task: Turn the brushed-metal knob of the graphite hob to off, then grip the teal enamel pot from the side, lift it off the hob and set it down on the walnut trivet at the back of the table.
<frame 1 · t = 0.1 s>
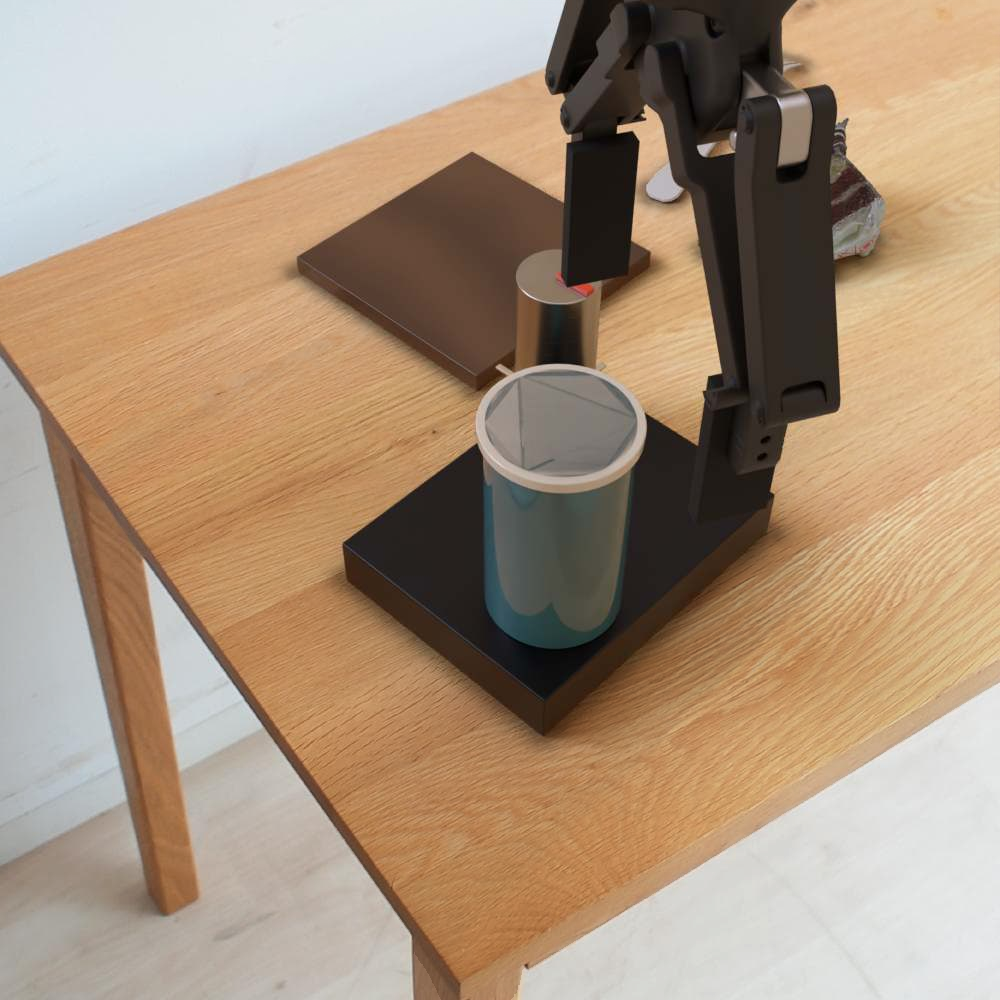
hand: (655, 384, 56), 21 cm above the table, tool pointing down, fingers open, 13 cm apart
trivet: (474, 269, 93), on the table
chocolate cake: (798, 252, 94), on the table
fork: (727, 129, 104), on the table
hob: (560, 555, 77), on the table
pot: (553, 593, 71), point 3 cm above the table, touching hob
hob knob: (556, 339, 77), point 8 cm above the table, hinge at -90.0°
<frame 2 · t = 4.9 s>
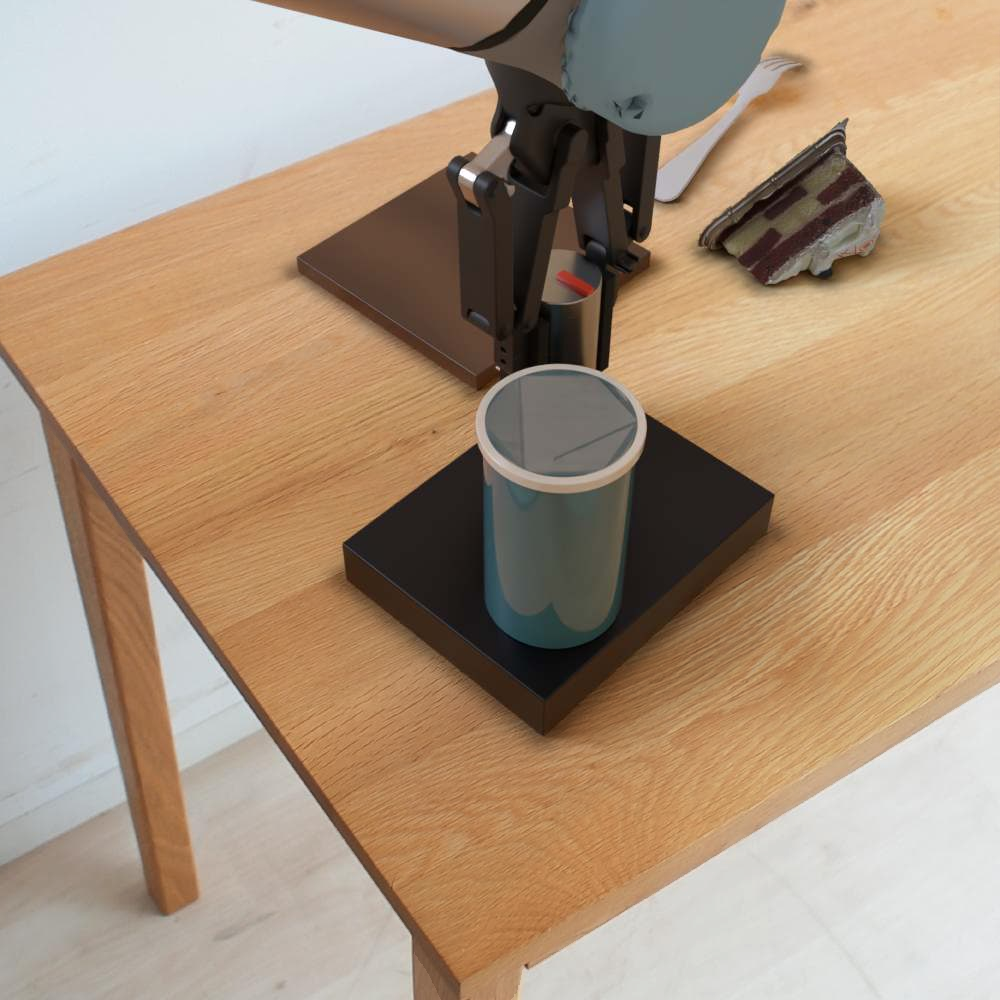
hand: (554, 381, 79), 5 cm above the table, tool pointing down, fingers closed on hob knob, 4 cm apart
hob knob: (556, 339, 77), point 8 cm above the table, hinge at -90.0°, touching gripper
everything else where it was.
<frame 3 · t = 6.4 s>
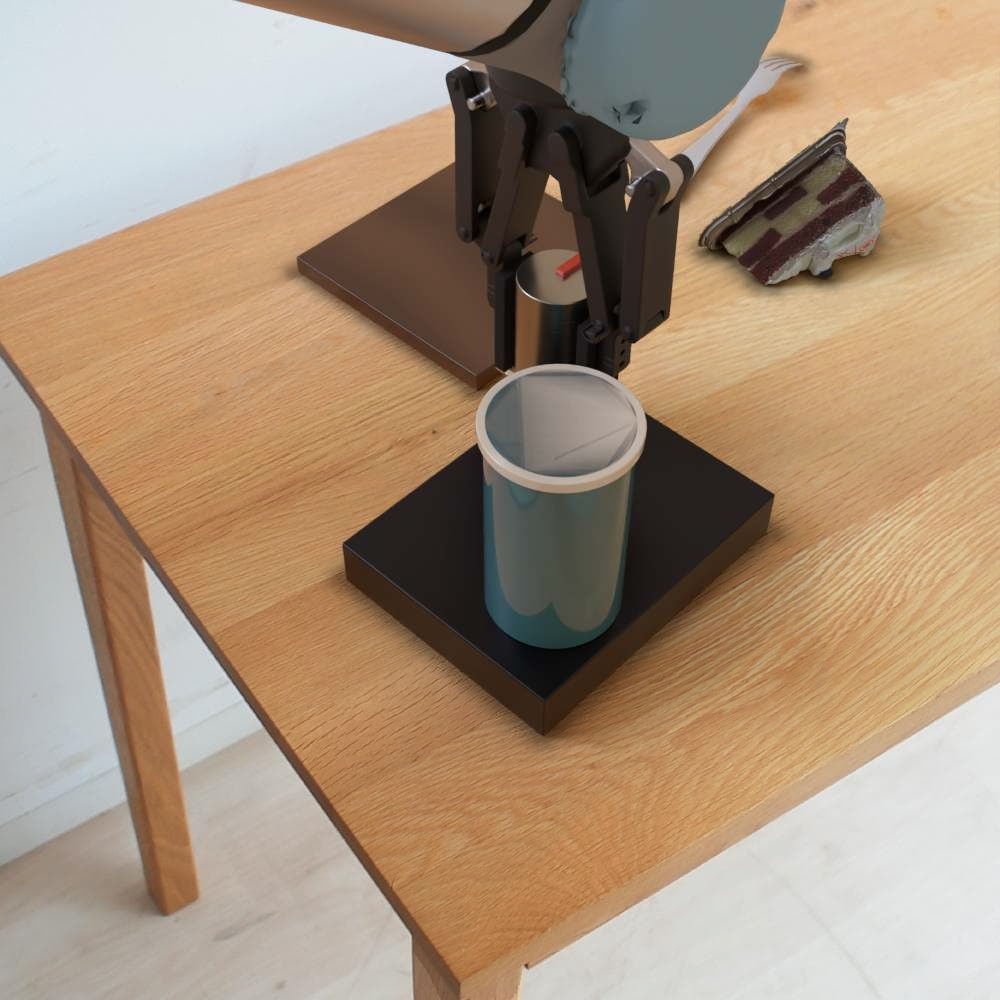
hand: (554, 382, 79), 5 cm above the table, tool pointing down, fingers open, 5 cm apart
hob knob: (556, 339, 77), point 8 cm above the table, hinge at -0.1°
everything else where it was.
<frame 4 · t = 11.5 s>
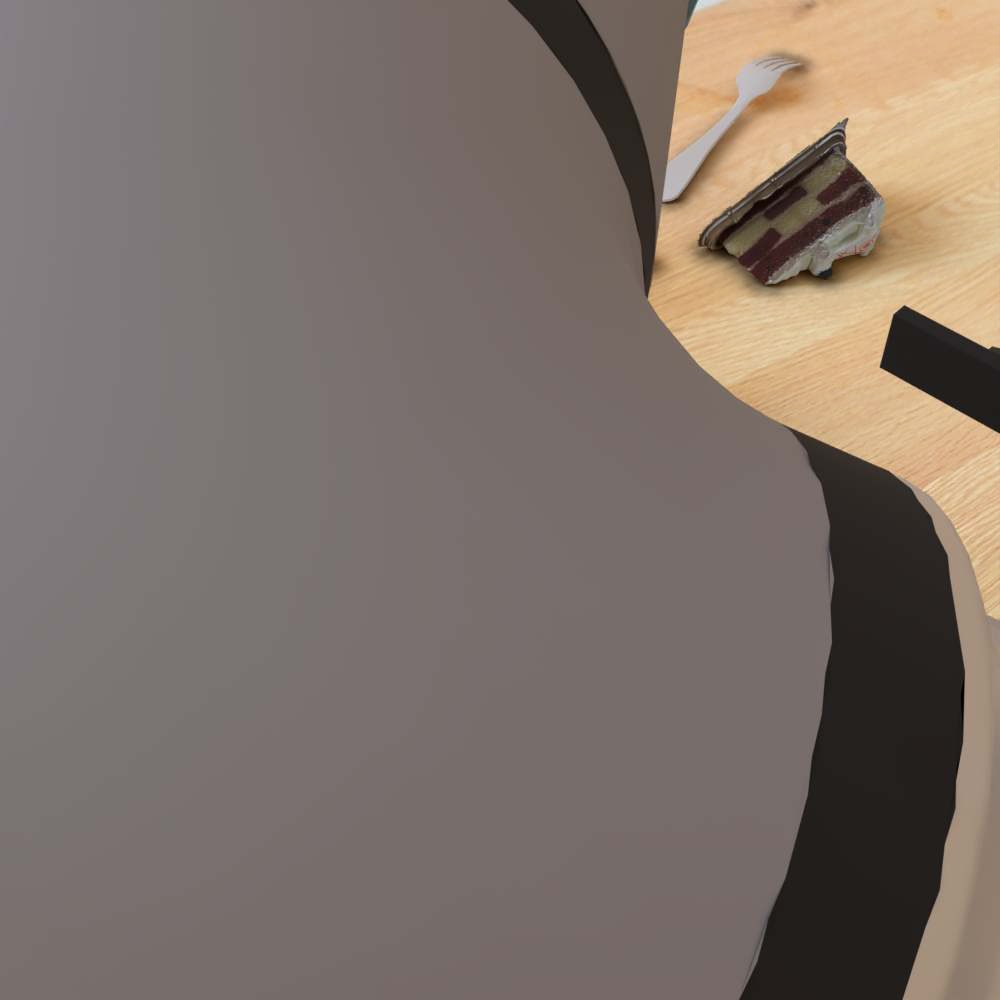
hand: (785, 427, 52), 22 cm above the table, tool horizontal, fingers open, 13 cm apart
nothing on the table moved.
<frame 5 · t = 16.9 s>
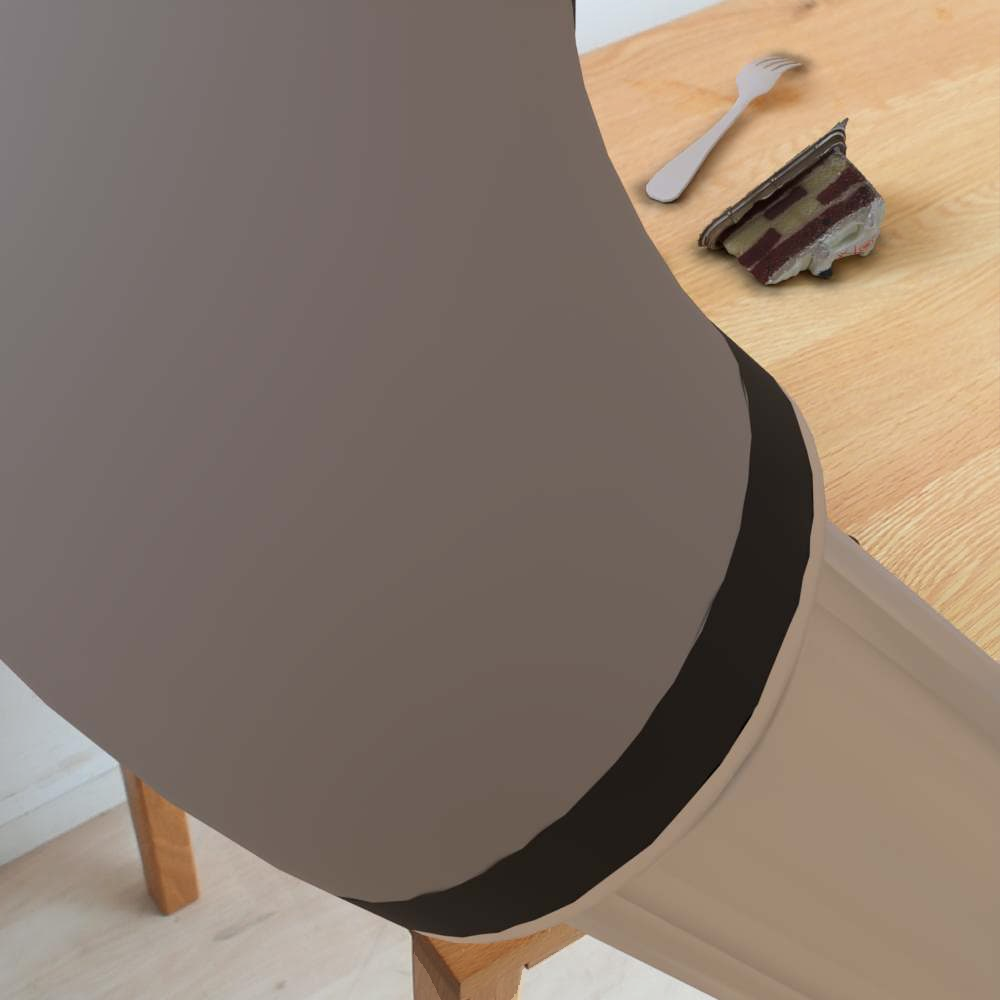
hand: (479, 450, 69), 10 cm above the table, tool horizontal, fingers closed on pot, 7 cm apart
pot: (553, 593, 71), point 3 cm above the table, touching gripper, hob
everything else where it was.
when the fingers open (8 cm above the table, at t = 26.4 s): pot stays where it is, resting on trivet.
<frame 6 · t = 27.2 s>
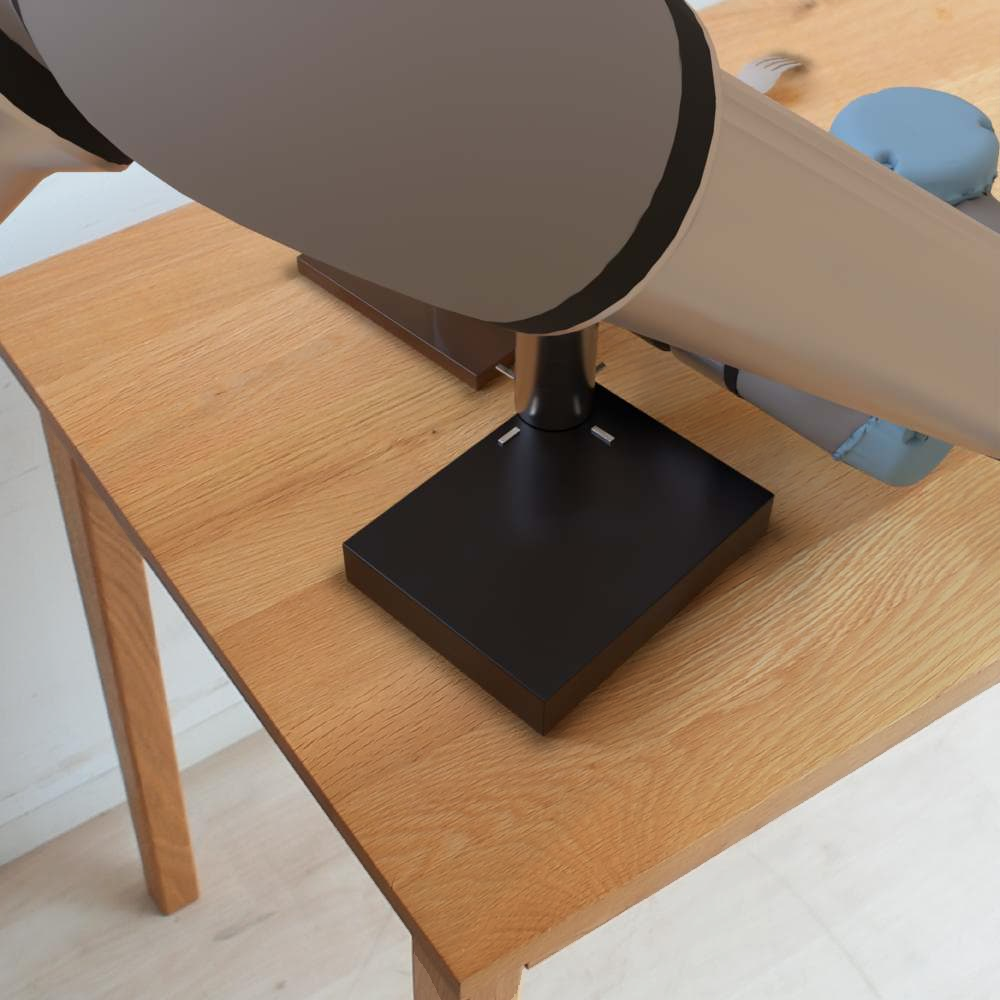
hand: (431, 139, 89), 8 cm above the table, tool horizontal, fingers open, 13 cm apart
pot: (474, 254, 92), point 1 cm above the table, touching trivet
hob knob: (556, 339, 77), point 8 cm above the table, hinge at -9.5°
everything else where it was.
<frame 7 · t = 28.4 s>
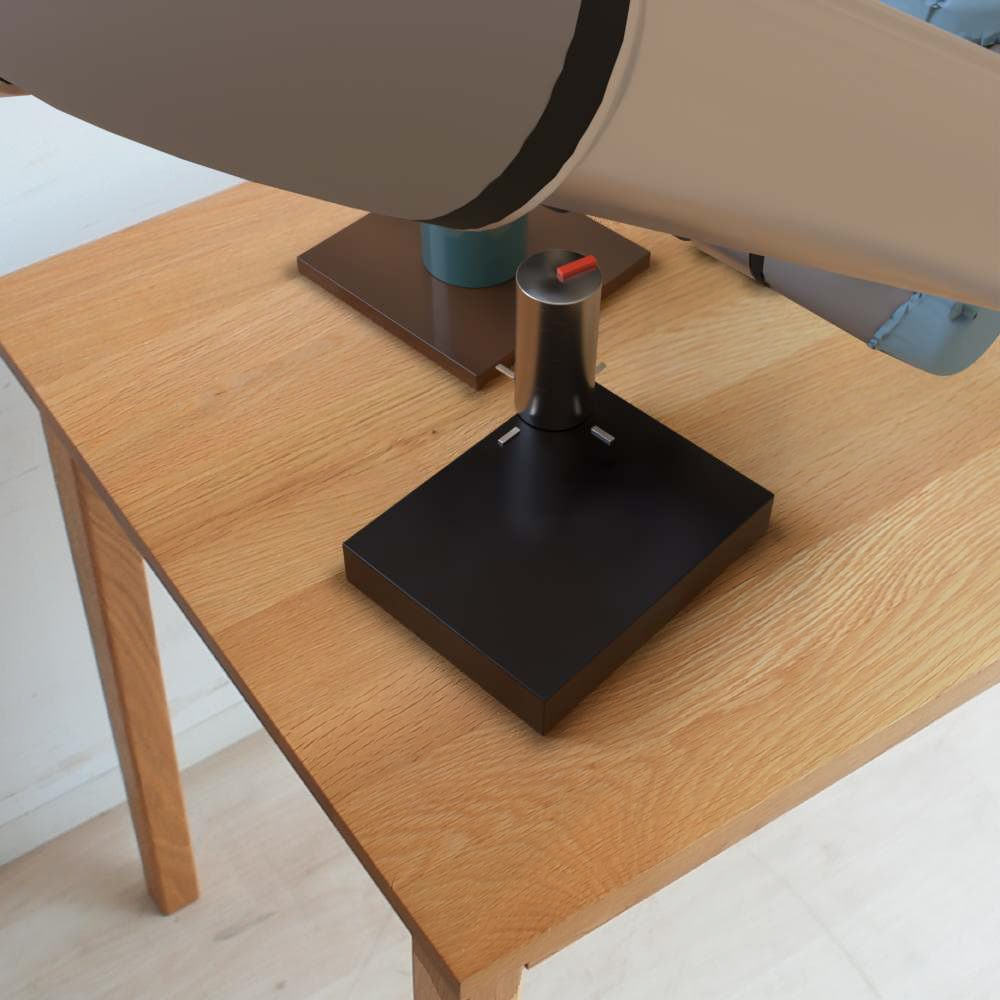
hand: (429, 24, 82), 16 cm above the table, tool horizontal, fingers open, 13 cm apart
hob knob: (556, 339, 77), point 8 cm above the table, hinge at -15.2°
everything else where it was.
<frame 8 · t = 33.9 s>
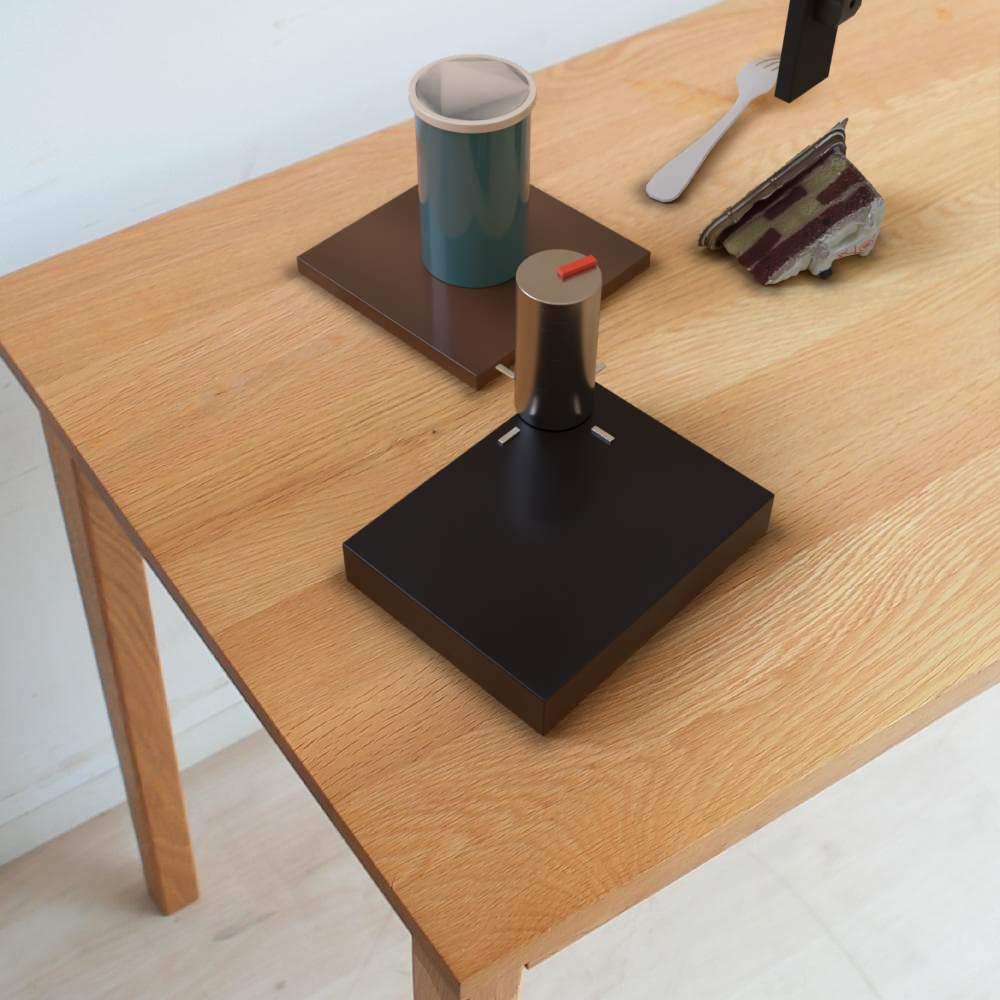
hand: (670, 26, 62), 27 cm above the table, tool pointing down, fingers open, 13 cm apart
nothing on the table moved.
at the end: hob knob at -15° (first picture: -90°); pot inside the target area on the trivet (0.0 cm from its centre), point 1.2 cm above the trivet's base; pot tilted 0° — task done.
